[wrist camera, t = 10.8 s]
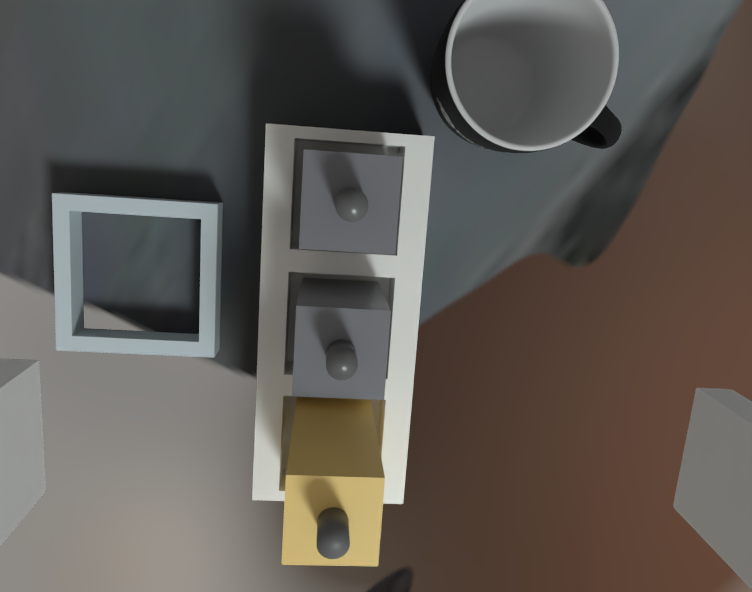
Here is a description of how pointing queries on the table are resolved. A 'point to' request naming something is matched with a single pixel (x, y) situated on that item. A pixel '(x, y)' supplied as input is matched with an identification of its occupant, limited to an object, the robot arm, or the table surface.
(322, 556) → the plug
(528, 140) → the mug
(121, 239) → the table surface
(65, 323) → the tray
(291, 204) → the strip
